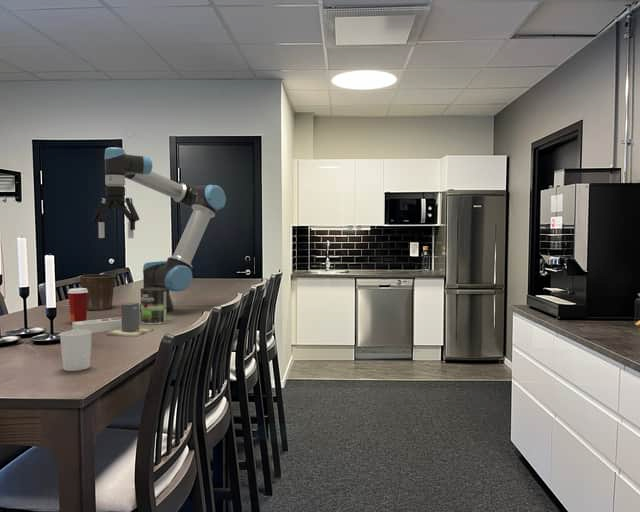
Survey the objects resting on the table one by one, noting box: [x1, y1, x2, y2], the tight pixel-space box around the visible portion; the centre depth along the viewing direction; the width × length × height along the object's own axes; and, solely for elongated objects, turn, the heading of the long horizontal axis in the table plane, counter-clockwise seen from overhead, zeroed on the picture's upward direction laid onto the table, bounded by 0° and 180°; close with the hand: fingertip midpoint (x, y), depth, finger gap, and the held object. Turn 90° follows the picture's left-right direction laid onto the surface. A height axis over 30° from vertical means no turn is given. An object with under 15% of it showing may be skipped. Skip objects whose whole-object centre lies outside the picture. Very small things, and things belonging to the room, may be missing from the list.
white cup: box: [59, 329, 92, 372], centre depth 142 cm, size 8×8×10 cm
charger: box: [121, 302, 140, 332], centre depth 191 cm, size 5×4×10 cm
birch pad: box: [105, 327, 155, 338], centre depth 191 cm, size 12×12×1 cm
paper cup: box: [67, 287, 88, 325], centre depth 209 cm, size 8×8×14 cm
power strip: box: [71, 315, 122, 334], centre depth 195 cm, size 18×7×5 cm, turn 130°
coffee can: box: [139, 287, 168, 326], centre depth 211 cm, size 10×10×14 cm
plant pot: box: [79, 273, 117, 311], centre depth 246 cm, size 16×16×16 cm
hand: (116, 238), depth 210 cm, fingers open, 13 cm apart
